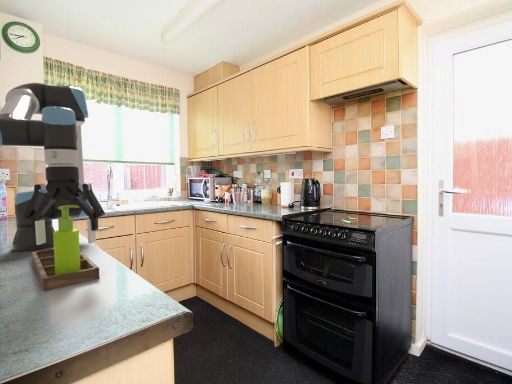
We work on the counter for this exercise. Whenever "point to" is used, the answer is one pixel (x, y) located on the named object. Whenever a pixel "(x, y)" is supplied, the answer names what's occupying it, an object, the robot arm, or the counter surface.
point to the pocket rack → (49, 281)
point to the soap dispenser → (66, 244)
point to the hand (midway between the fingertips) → (66, 243)
